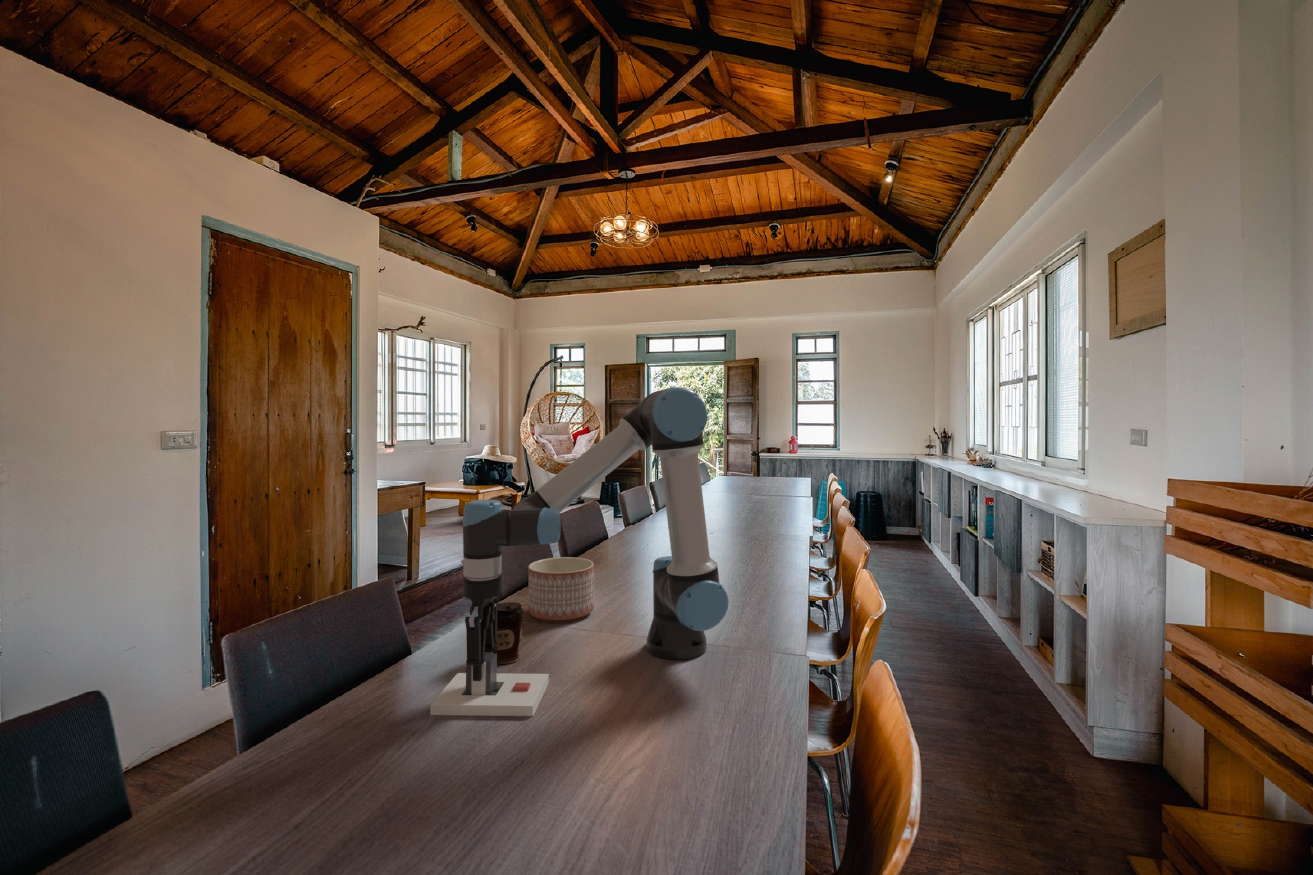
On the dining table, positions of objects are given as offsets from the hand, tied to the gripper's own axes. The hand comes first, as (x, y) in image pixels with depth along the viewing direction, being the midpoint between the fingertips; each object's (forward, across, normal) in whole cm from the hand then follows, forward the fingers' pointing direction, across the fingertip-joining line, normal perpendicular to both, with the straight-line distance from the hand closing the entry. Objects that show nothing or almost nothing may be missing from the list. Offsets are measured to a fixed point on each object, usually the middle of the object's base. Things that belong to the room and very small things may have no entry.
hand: (482, 689), depth 115 cm
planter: (+2, -52, +6) cm, 52 cm away
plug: (0, 0, 0) cm, 1 cm away
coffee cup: (+2, -19, -1) cm, 19 cm away
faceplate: (+2, 0, +2) cm, 3 cm away
